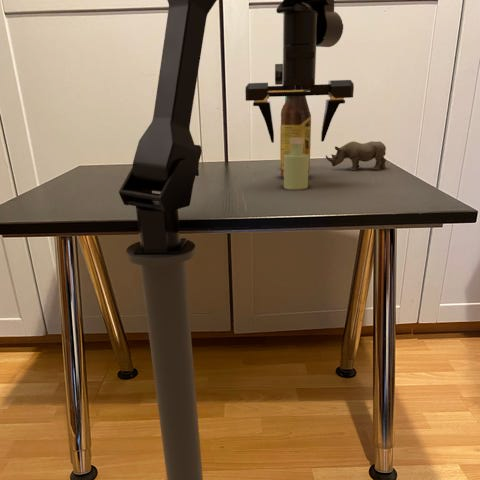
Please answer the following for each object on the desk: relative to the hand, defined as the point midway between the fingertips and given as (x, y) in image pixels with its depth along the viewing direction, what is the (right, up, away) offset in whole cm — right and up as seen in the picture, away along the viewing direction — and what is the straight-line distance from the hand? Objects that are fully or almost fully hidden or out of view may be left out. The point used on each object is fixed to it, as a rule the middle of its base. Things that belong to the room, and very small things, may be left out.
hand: (297, 141), depth 89 cm
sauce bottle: (+1, -3, +13) cm, 14 cm away
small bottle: (0, -8, +4) cm, 8 cm away
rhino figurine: (+16, +1, +20) cm, 26 cm away
